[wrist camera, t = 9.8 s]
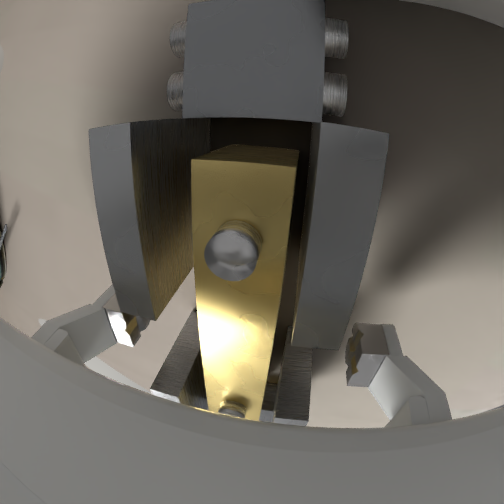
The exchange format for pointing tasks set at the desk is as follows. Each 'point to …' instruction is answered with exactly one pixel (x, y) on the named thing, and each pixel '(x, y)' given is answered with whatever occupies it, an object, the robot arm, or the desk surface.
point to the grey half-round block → (472, 8)
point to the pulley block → (2, 257)
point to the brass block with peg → (240, 267)
